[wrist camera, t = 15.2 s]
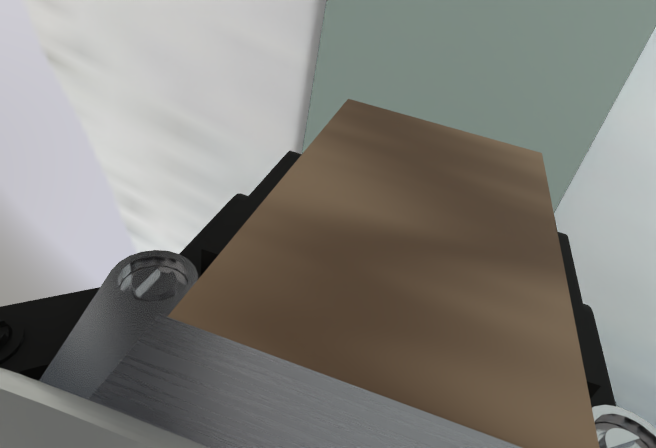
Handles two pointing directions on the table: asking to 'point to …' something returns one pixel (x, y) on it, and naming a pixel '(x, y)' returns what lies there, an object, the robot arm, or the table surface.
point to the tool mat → (485, 68)
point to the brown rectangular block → (376, 306)
